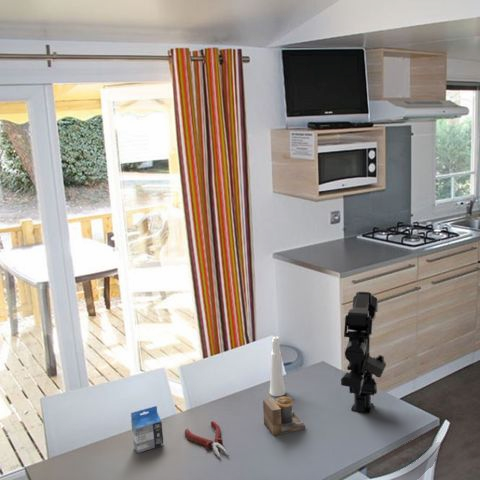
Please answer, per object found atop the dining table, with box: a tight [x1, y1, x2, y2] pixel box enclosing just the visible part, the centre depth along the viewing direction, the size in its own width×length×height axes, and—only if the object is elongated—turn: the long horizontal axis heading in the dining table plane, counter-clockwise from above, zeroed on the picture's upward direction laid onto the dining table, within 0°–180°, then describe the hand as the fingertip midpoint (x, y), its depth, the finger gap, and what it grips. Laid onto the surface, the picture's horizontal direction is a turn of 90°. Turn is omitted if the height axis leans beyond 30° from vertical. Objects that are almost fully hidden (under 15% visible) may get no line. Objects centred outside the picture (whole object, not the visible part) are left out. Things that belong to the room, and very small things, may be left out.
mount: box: [262, 397, 306, 437], centre depth 192 cm, size 12×8×9 cm
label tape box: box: [130, 405, 165, 454], centre depth 184 cm, size 9×4×12 cm, turn 118°
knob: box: [275, 396, 295, 427], centre depth 192 cm, size 5×6×8 cm
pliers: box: [184, 420, 230, 460], centre depth 185 cm, size 12×20×3 cm, turn 27°
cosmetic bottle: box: [268, 336, 287, 397], centre depth 214 cm, size 6×6×22 cm
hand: (358, 395), depth 187 cm, fingers closed
